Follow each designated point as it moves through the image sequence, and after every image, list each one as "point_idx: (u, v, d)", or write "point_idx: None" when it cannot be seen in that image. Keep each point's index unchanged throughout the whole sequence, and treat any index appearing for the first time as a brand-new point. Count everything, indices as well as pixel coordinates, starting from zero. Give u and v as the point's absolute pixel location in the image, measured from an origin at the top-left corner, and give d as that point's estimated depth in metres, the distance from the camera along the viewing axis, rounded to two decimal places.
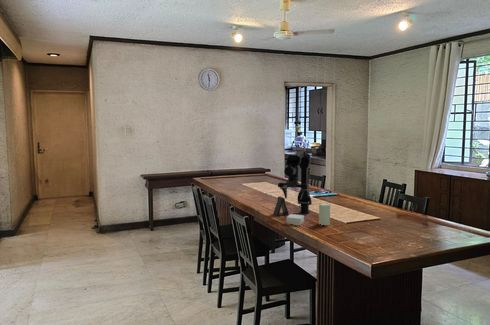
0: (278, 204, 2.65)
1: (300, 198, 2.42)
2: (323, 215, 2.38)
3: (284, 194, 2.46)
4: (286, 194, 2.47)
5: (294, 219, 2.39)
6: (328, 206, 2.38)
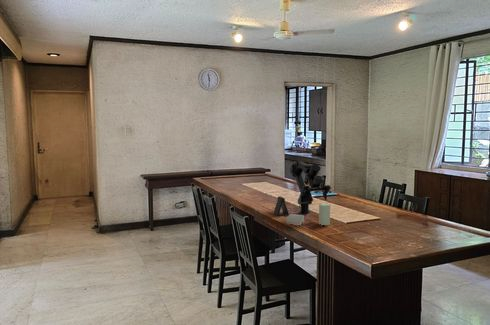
0: (278, 204, 2.65)
1: (326, 198, 2.48)
2: (323, 215, 2.38)
3: (310, 196, 2.47)
4: None
5: (294, 219, 2.39)
6: (328, 206, 2.38)
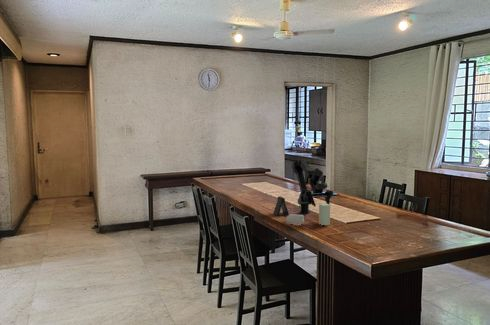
0: (278, 204, 2.65)
1: None
2: (323, 215, 2.38)
3: (313, 201, 2.43)
4: None
5: (294, 219, 2.39)
6: (328, 206, 2.38)
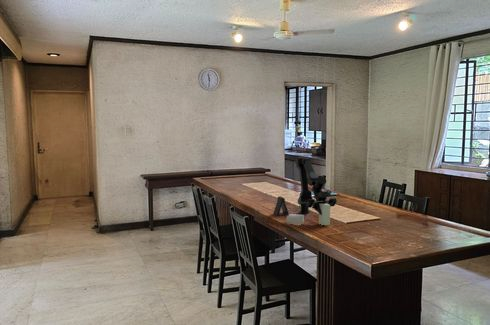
0: (278, 204, 2.65)
1: None
2: (323, 215, 2.38)
3: (319, 209, 2.39)
4: None
5: (294, 219, 2.39)
6: (328, 206, 2.38)
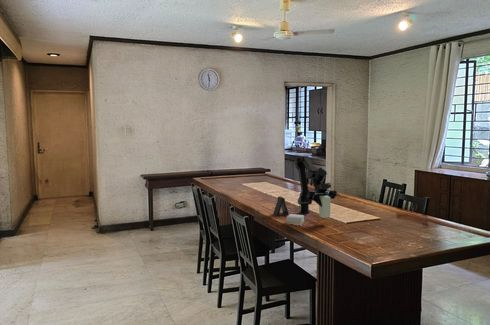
0: (278, 204, 2.65)
1: None
2: (323, 207, 2.37)
3: (319, 201, 2.39)
4: None
5: (294, 219, 2.39)
6: (328, 198, 2.37)
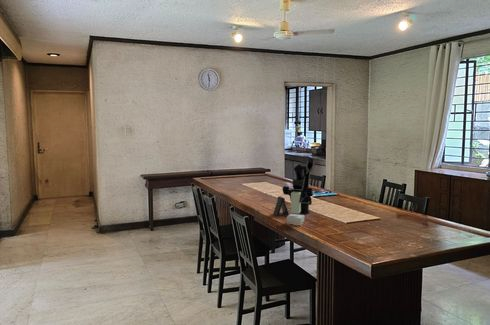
0: (278, 204, 2.65)
1: (300, 200, 2.40)
2: (291, 202, 2.41)
3: (290, 197, 2.43)
4: None
5: (294, 219, 2.39)
6: (297, 194, 2.39)
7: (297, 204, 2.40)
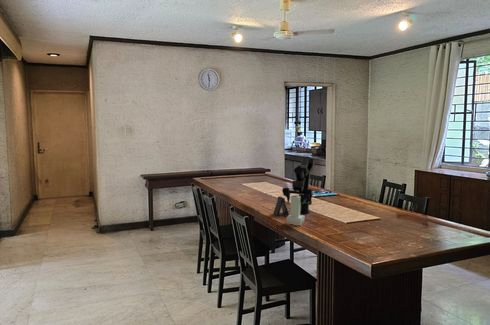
0: (278, 204, 2.65)
1: (302, 202, 2.40)
2: (291, 206, 2.41)
3: (287, 198, 2.44)
4: None
5: (294, 219, 2.39)
6: (296, 198, 2.39)
7: (297, 208, 2.40)
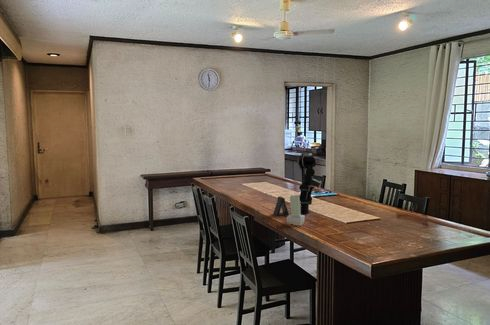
0: (278, 204, 2.65)
1: (310, 195, 2.60)
2: (291, 206, 2.41)
3: (306, 195, 2.50)
4: None
5: (294, 219, 2.39)
6: (296, 198, 2.40)
7: (297, 207, 2.40)
